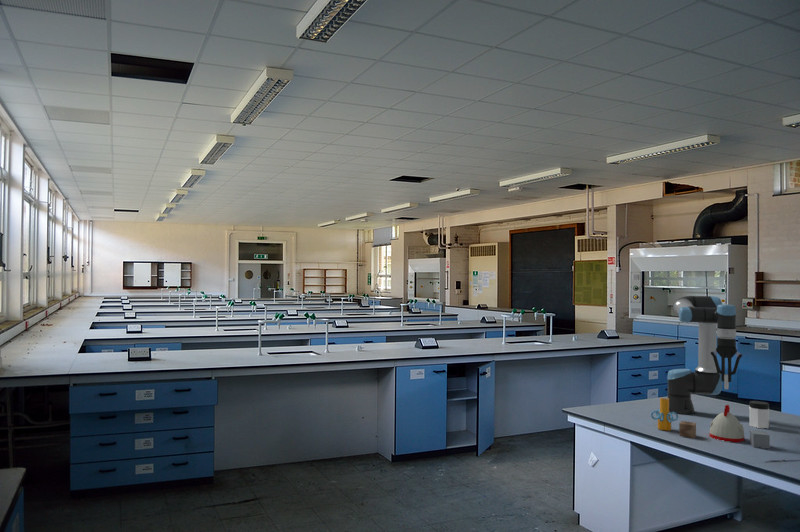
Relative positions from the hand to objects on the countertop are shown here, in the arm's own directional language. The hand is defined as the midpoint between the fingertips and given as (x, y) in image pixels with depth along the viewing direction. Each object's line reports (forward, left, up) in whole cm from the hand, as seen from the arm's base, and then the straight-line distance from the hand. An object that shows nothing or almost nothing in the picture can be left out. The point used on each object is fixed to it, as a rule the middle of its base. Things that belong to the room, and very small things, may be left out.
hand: (726, 388), depth 253 cm
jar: (+11, +35, -23) cm, 43 cm away
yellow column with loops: (-26, -2, -23) cm, 35 cm away
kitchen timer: (0, 0, -23) cm, 23 cm away
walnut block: (-15, -8, -23) cm, 28 cm away
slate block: (+13, -6, -23) cm, 27 cm away
